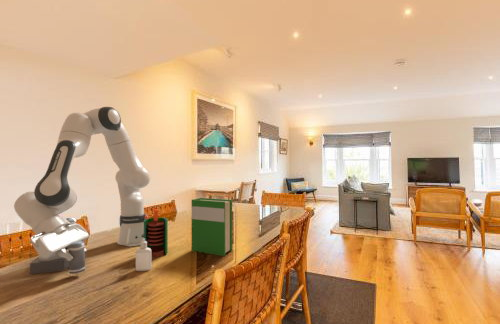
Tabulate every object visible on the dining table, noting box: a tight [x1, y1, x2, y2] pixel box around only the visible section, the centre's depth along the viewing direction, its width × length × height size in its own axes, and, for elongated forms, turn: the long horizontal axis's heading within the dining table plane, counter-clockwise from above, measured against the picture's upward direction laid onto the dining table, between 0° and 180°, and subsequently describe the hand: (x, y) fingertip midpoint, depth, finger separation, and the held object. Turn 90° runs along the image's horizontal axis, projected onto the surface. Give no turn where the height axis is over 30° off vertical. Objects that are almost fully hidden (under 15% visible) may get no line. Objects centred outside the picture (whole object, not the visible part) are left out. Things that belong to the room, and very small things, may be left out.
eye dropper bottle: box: [135, 238, 153, 272], centre depth 103 cm, size 4×6×12 cm
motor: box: [144, 208, 169, 258], centre depth 120 cm, size 10×9×20 cm
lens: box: [67, 241, 86, 275], centre depth 97 cm, size 5×5×10 cm
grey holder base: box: [29, 249, 69, 275], centre depth 106 cm, size 11×11×6 cm
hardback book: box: [191, 197, 233, 257], centre depth 124 cm, size 18×7×24 cm, turn 66°
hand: (78, 255), depth 97 cm, fingers closed on lens, 5 cm apart
